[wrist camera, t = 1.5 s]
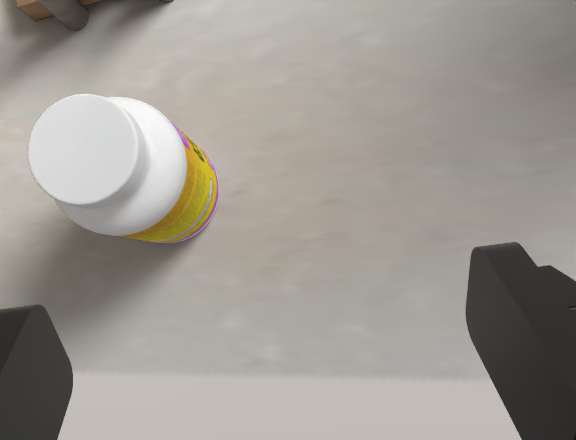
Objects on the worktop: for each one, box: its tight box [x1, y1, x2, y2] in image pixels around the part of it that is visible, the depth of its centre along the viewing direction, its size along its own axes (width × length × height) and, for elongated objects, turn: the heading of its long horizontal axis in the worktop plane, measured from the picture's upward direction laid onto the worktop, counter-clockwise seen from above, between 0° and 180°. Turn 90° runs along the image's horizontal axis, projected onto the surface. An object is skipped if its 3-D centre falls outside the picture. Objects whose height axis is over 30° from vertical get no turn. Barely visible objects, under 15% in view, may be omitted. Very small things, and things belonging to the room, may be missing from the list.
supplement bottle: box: [28, 94, 220, 243], centre depth 29 cm, size 7×7×13 cm
